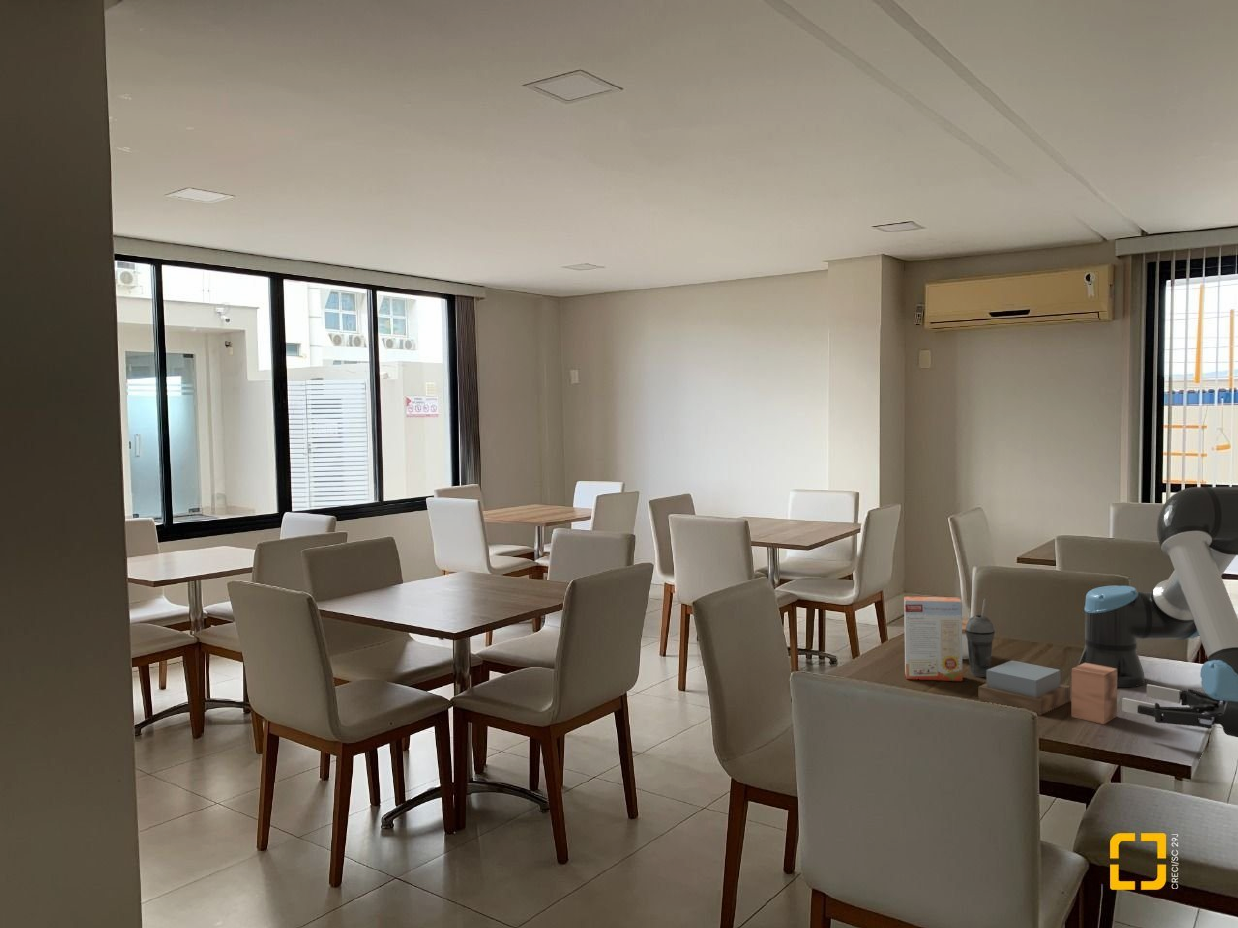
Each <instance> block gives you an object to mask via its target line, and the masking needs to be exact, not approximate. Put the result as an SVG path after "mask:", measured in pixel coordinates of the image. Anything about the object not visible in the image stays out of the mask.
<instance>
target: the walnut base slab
mask: <svg viewBox="0 0 1238 928" xmlns="http://www.w3.org/2000/svg"><path fill="white" fill-rule="evenodd" d="M977 689H978V690H977V691H978V695H977V696H978V697H977V698H978V700H980V701H979V702H981V701H985V702H992V703H996V704H1001V705H1007V706H1012V707H1017V708H1026V709H1028V710H1032V711H1033V712H1036V713H1037V714H1040V715H1039V716H1043V715H1045V714H1047V713H1049V712H1051V711H1053V710H1055V709H1056V708H1059V707H1061V706H1062V705H1065V704H1067V703H1069V702H1070V701H1071V685H1070V686H1069V685H1064V684H1061V687H1059V688H1057V689H1054V690H1052V691H1050V692H1048V693H1045V694H1043V695H1041V696H1039V697H1037V698H1035V697H1030V696H1026V695H1022V694H1017V693H1013V692H1008V691H1004V690H1000V689H995V688H991V687H987V682H986V683H983V684H982V685H979V686H978V687H977ZM985 702H984V703H985ZM1054 708H1055V709H1054ZM1052 709H1053V710H1052ZM1050 710H1051V711H1050ZM1048 711H1049V712H1048ZM1046 712H1047V713H1046ZM1044 713H1045V714H1044ZM1042 714H1043V715H1042Z"/></svg>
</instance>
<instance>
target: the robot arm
mask: <svg viewBox="0 0 1238 928" xmlns="http://www.w3.org/2000/svg"><path fill="white" fill-rule="evenodd" d="M1156 523H1157V524H1156V536H1157V541H1158V543H1159V546H1160V549H1161V552H1162V553H1163V554H1165V555H1166V556H1169V558H1170V560H1171V564H1172V567H1173V569H1174V570H1173V572H1172V573H1171V575H1170V576H1169V577H1168V579H1164V580H1162V581H1160V582H1158V583H1157V584H1156V585H1155V586H1154V588H1153V589H1152V591H1145V592H1144V591H1143V592H1142V591H1140V592H1138V590H1137V588H1135V587H1134V586H1131V585H1117V584H1116V585H1115V584H1114V585H1105V586H1098V587H1095V588H1092V589H1090V590H1089V591H1087V593H1086V595H1085V605H1084V625H1085V626H1084V643H1085V644H1084V649H1083V651H1082V654H1081V656H1080V660H1079V662H1078V663H1077V664H1078V665H1077V666H1079V665H1081V664H1083V663H1090V664H1095V665H1100V666H1106V667H1111V668H1117V688H1133V687H1139V686H1142V685H1144V684H1145V671H1144V668H1143V666H1142V663H1141V660H1140V657H1139V655H1138V651H1137V649H1138V640H1139V639H1140V640H1141V639H1142V640H1144V639H1149V640H1151V639H1154V640H1155V639H1156V640H1157V639H1160V640H1161V639H1164V640H1166V639H1167V640H1188V639H1195V638H1197V637H1199V638H1200V640H1201V643H1202V646H1203V649H1204V651H1205V655H1206V658H1207V660H1208V661H1205V662H1204V663H1203V665H1202V666H1201V668H1200V672H1199V673H1200V678H1201V681H1200V682H1201V683H1200V684H1201V687H1202V689H1203V691H1204V692H1205V693H1204V692H1202V691H1198V690H1195V689H1193V688H1189V689H1186V690H1185V689H1183V690H1180V689H1175V688H1171V687H1164V686H1159V685H1153V684H1148V683H1147V684H1146V698H1151V699H1155V700H1161V701H1166V702H1171V703H1175V704H1180V703H1181V706H1161V705H1160V704H1159V703H1158V702H1155V703H1150V702H1147V701H1141V700H1138V699H1133V698H1132V699H1131V698H1128V697H1122V698H1121V700H1122V701H1121V705H1122V706H1121V711H1122V712H1125V713H1129V714H1134V715H1139V716H1144V717H1148V718H1153V719H1154V722H1155V723H1158V724H1168V725H1179V726H1187V727H1188V726H1189V727H1190V726H1191V727H1198V728H1204V729H1213V728H1212V727H1213V726H1214V725H1221V727H1222V730H1223V733H1224V734H1225V735H1227V736H1230V737H1235V738H1238V615H1237V613H1236V610H1235V608H1234V604H1233V603H1232V599H1231V598H1230V596H1229V593H1228V590H1227V588H1226V585H1225V582H1224V580H1223V578H1222V575H1223V574H1224V572H1225V571H1226V570H1227V569H1228V567H1229V566H1230V565H1231V563H1232V562H1233V561H1234V559H1235V558H1236V556H1238V486H1204V487H1202V486H1194V487H1193V486H1192V487H1187V488H1184V489H1181V490H1179V491H1177V492H1175V493H1174V494H1172V496H1170V497H1169V498H1168V499H1166V501H1165V502H1164V504H1163V505H1162V507H1161V509H1160V512H1159V514H1158V517H1157V522H1156ZM1185 706H1186V707H1185ZM1187 706H1188V707H1187Z"/></svg>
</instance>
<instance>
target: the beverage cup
mask: <svg viewBox="0 0 1238 928" xmlns="http://www.w3.org/2000/svg"><path fill="white" fill-rule="evenodd" d="M985 607H986V598H984V599H983V601H982V607H981V608H982V610H981V615H979V614H978V615H974V616H971V617H970V618H969V619H967V620H968V622H967V624H966V629H965V631H966V637H967V641H968V652H969V659H968V662H969V669H970V670H969V672H970V675H971V676H973V677H977V678H986V670H988V669H990V668H991V660H992V649H993V641H994V637H995V633H996V632H995V627H994V624H993V622H992V620H990V619H989V618H988V617H986V615H985Z"/></svg>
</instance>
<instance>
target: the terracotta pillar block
mask: <svg viewBox="0 0 1238 928" xmlns="http://www.w3.org/2000/svg"><path fill="white" fill-rule="evenodd" d="M1070 701H1071V702H1070V703H1071V711H1070V712H1071V713H1070V714H1071V718H1076V719H1079V720H1084V721H1089V722H1093V723H1097V724H1101V725H1105V724H1107V723H1108V722H1110V721H1112V720H1114V719H1115V718H1118V717H1117V716H1118V714H1117V713H1118V687H1117V668H1111V667H1106V666H1100V665H1095V664H1090V663H1083V664H1081V665H1079V666H1078V665H1077V666H1075V667H1072V668H1071V699H1070Z"/></svg>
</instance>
